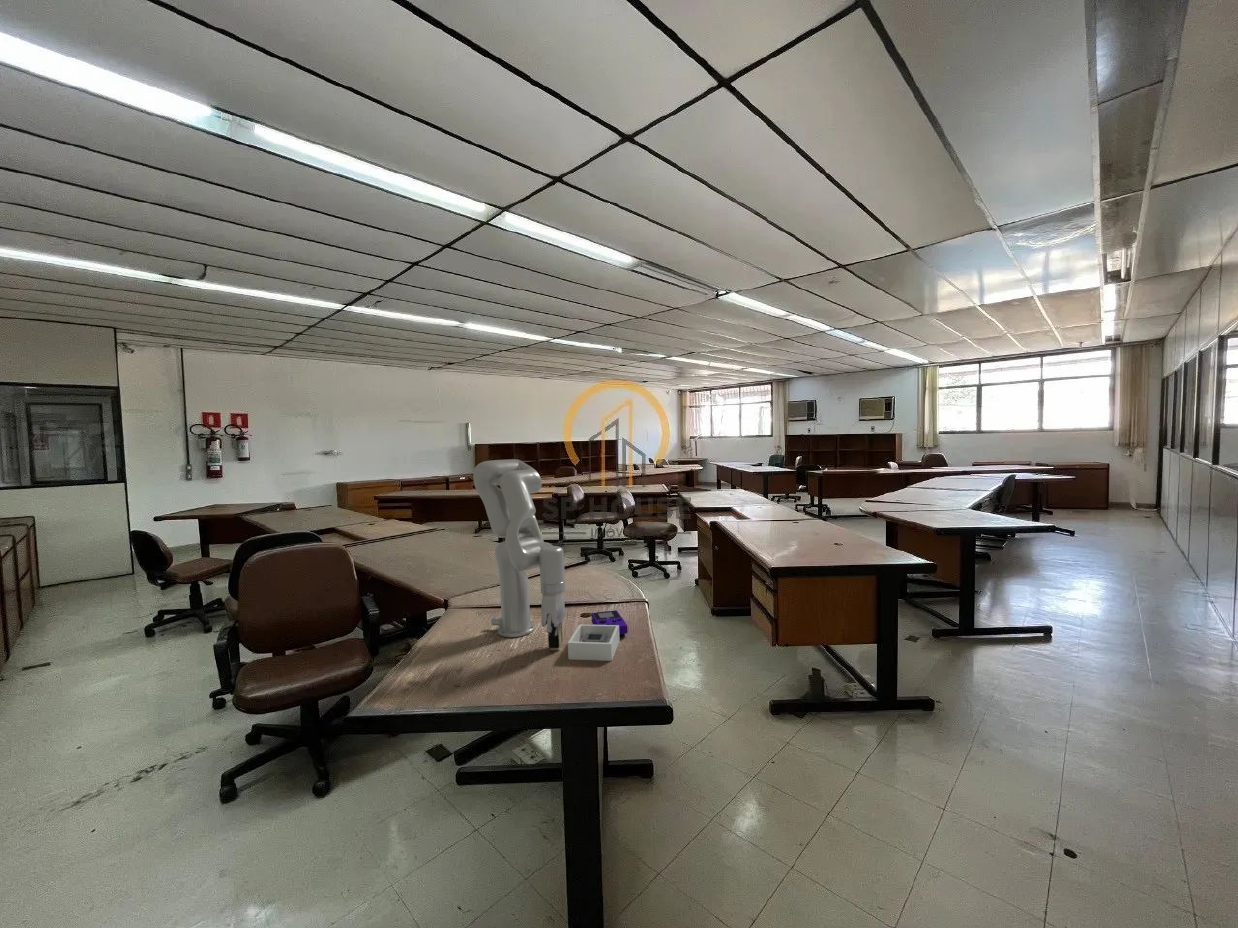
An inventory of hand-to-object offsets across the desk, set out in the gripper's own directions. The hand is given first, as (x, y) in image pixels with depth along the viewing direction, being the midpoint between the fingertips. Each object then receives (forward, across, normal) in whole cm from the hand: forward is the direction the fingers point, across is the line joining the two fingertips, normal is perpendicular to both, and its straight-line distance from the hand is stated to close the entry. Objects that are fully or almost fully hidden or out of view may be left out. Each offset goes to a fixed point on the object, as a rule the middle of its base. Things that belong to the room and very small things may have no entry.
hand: (555, 644), depth 147 cm
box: (+1, 0, +12) cm, 13 cm away
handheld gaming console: (+1, -15, +14) cm, 20 cm away
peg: (+1, 0, 0) cm, 1 cm away
